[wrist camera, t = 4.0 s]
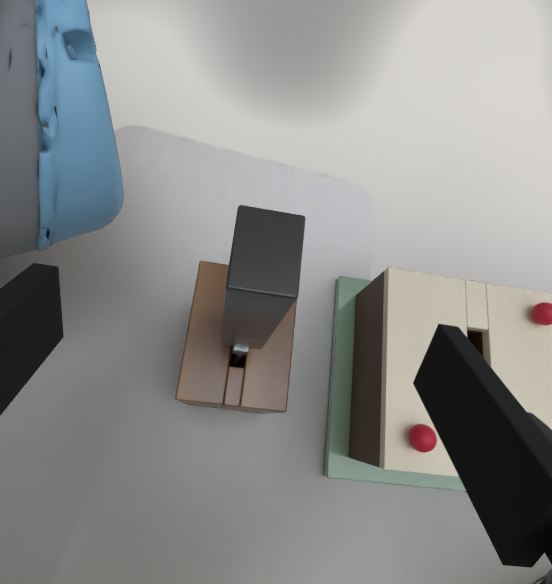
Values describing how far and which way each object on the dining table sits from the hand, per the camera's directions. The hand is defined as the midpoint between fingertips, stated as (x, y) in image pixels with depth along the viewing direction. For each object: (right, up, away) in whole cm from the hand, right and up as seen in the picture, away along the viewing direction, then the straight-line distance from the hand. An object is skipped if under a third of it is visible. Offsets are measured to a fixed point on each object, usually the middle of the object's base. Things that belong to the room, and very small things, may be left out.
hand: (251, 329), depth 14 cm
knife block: (-3, -4, +18) cm, 19 cm away
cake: (+13, -6, +19) cm, 24 cm away
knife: (-2, -4, +17) cm, 18 cm away
